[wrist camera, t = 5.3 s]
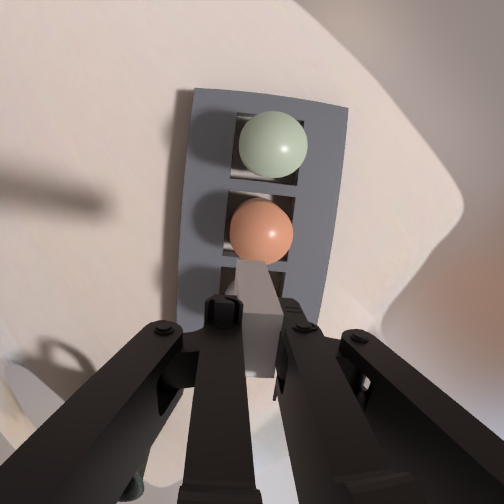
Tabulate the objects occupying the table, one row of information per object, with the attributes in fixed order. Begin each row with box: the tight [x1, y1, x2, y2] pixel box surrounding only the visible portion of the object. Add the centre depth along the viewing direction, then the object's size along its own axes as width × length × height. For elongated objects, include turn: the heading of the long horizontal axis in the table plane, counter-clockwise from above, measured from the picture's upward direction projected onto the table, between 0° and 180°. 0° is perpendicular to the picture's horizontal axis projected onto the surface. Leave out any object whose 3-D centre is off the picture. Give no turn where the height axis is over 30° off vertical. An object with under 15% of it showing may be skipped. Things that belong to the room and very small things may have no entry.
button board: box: [176, 88, 348, 333], centre depth 30 cm, size 14×24×2 cm, turn 174°
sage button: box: [239, 111, 308, 178], centre depth 25 cm, size 5×5×5 cm
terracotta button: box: [230, 198, 293, 265], centre depth 28 cm, size 5×5×5 cm
